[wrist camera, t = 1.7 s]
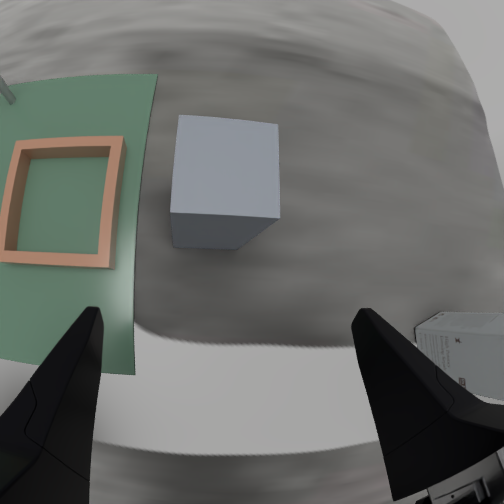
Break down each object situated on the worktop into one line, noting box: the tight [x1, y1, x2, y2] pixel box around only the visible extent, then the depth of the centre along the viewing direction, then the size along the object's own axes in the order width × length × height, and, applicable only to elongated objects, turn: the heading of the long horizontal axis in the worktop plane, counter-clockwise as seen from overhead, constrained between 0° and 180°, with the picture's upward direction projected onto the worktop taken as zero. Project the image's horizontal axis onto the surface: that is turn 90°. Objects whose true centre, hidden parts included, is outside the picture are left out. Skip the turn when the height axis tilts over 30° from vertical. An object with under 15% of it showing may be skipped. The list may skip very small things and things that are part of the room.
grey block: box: [170, 115, 280, 250], centre depth 18 cm, size 5×5×10 cm
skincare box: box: [415, 312, 504, 401], centre depth 20 cm, size 6×4×12 cm
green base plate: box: [0, 74, 158, 375], centre depth 15 cm, size 25×16×11 cm, turn 0°
